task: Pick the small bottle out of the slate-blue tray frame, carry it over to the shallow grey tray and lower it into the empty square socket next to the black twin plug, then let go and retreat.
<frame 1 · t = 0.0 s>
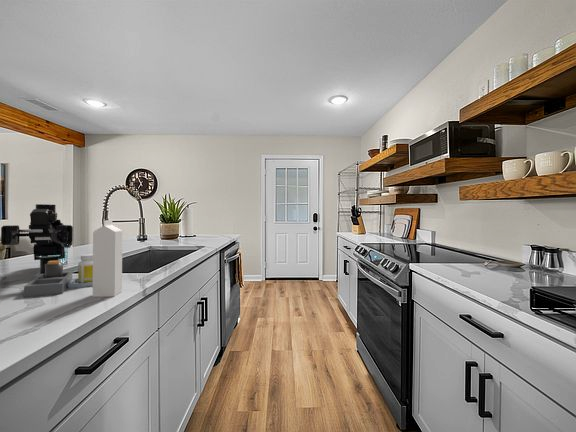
hand: (32, 236, 98), 17 cm above the worktop, tool horizontal, fingers open, 9 cm apart
shallow grey tray: (50, 287, 101), on the worktop
milk: (107, 294, 95), on the worktop
tray frame: (87, 283, 108), on the worktop
supplement bottle: (87, 284, 108), resting in tray frame
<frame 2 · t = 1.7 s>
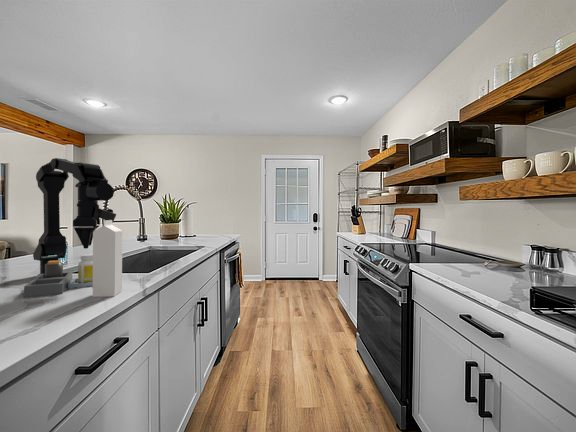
hand: (87, 247, 108), 12 cm above the worktop, tool pointing down, fingers open, 9 cm apart
nothing on the worktop moved.
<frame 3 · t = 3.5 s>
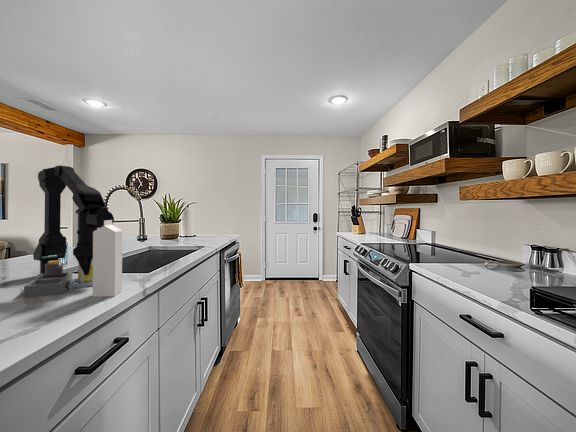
hand: (87, 273, 108), 4 cm above the worktop, tool pointing down, fingers closed on supplement bottle, 5 cm apart
supplement bottle: (87, 284, 108), resting in tray frame, touching gripper
everything else where it was.
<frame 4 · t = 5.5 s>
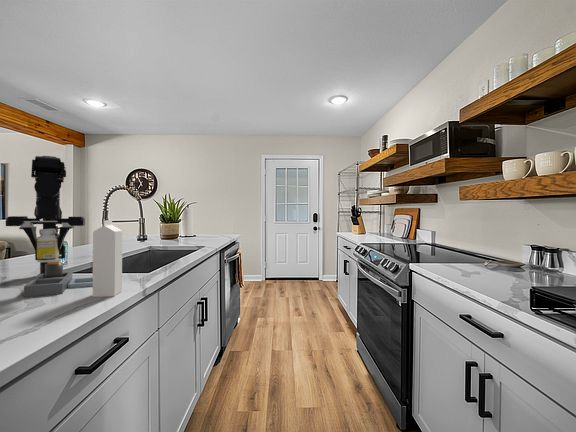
hand: (47, 249, 97), 13 cm above the worktop, tool pointing down, fingers closed on supplement bottle, 5 cm apart
supplement bottle: (48, 261, 97), point 9 cm above the worktop, touching gripper
everything else where it was.
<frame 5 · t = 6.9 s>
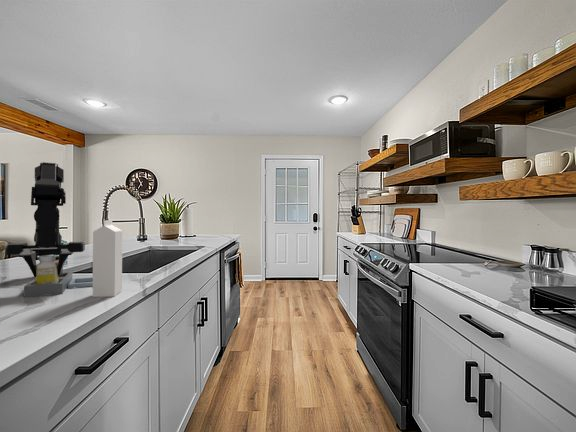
hand: (47, 276, 97), 5 cm above the worktop, tool pointing down, fingers closed on supplement bottle, 5 cm apart
supplement bottle: (47, 288, 97), point 1 cm above the worktop, touching gripper
everything else where it was.
when the fingers open (4 cm above the worktop, at t = 7.8 s): supplement bottle stays where it is, resting in shallow grey tray.
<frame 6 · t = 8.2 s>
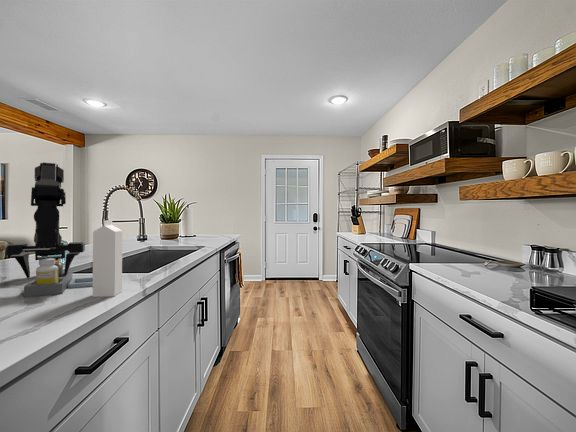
hand: (47, 276, 97), 4 cm above the worktop, tool pointing down, fingers open, 9 cm apart
supplement bottle: (47, 291, 97), resting in shallow grey tray
everything else where it was.
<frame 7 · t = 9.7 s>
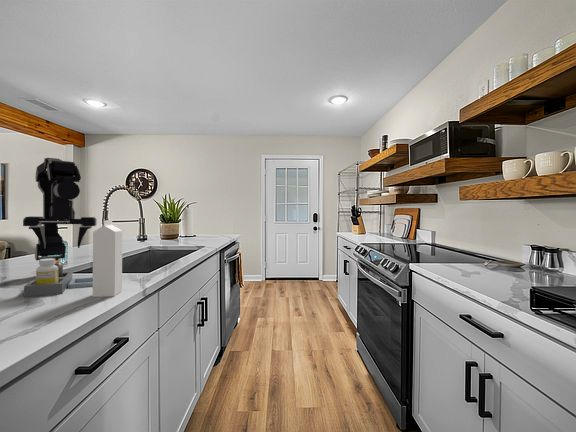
hand: (61, 248, 103), 13 cm above the worktop, tool pointing down, fingers open, 9 cm apart
nothing on the worktop moved.
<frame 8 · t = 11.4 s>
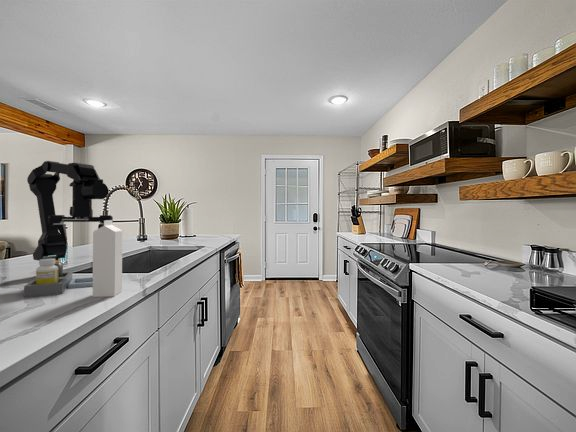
hand: (82, 243, 112), 13 cm above the worktop, tool pointing down, fingers open, 9 cm apart
nothing on the worktop moved.
at the end: supplement bottle 0.1 cm from the target spot on the shallow grey tray, point 0.0 cm above the shallow grey tray's base; supplement bottle tilted 0°; the gripper is holding nothing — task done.
